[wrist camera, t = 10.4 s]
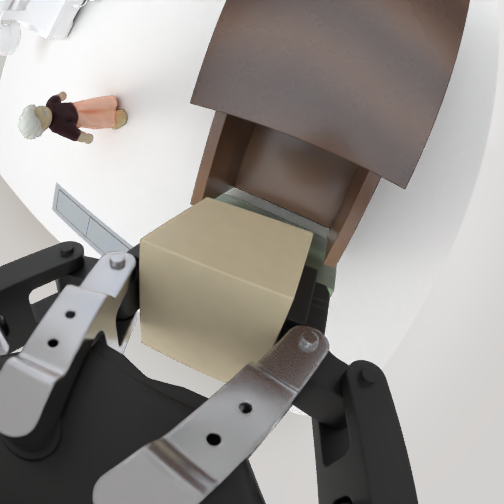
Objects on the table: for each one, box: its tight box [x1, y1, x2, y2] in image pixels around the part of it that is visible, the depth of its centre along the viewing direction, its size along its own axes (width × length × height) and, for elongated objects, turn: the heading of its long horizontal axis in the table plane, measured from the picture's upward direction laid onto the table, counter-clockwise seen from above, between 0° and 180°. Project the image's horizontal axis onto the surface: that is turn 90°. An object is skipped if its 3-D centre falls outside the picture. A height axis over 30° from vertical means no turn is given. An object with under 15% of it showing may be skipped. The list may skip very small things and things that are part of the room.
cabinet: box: [190, 0, 470, 189], centre depth 15 cm, size 15×13×10 cm
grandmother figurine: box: [18, 92, 127, 144], centre depth 21 cm, size 8×4×13 cm, turn 49°
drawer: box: [190, 111, 381, 297], centre depth 21 cm, size 18×12×8 cm
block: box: [139, 197, 313, 383], centre depth 10 cm, size 4×4×4 cm
